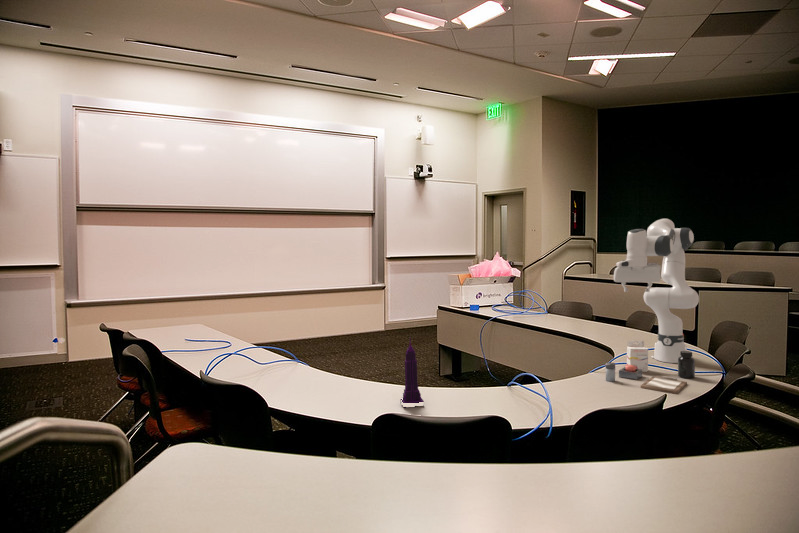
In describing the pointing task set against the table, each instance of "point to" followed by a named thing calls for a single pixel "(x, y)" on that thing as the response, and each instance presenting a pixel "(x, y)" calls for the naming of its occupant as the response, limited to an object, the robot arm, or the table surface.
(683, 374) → the supplement bottle
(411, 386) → the building model
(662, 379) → the picture frame
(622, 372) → the button housing
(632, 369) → the button
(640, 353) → the ink cartridge box
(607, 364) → the grey lidded jar
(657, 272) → the robot arm
